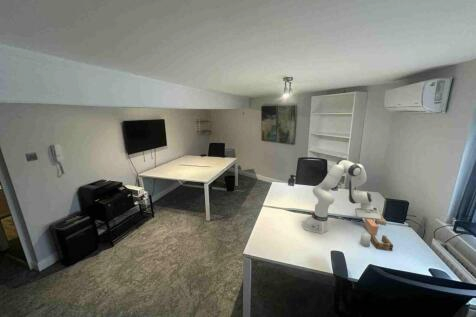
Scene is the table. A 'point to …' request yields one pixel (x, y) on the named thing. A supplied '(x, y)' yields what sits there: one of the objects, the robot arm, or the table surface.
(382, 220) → the brick
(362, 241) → the white rounded piece
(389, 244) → the lane
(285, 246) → the table surface
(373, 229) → the block
